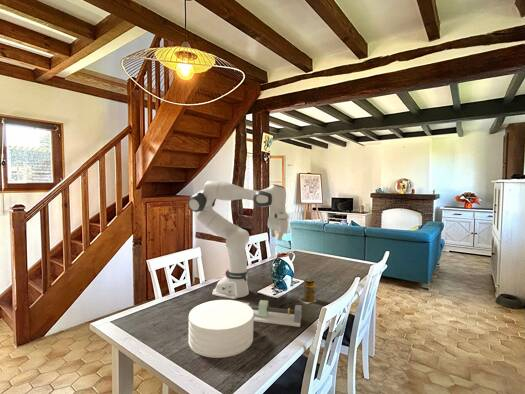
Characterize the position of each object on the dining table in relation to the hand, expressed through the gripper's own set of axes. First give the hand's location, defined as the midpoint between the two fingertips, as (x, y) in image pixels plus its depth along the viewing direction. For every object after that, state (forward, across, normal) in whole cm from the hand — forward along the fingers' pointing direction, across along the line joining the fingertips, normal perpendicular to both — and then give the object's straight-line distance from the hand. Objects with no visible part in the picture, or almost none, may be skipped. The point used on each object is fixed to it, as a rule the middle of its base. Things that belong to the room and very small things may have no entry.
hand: (276, 238), depth 158 cm
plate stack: (+38, +25, -35) cm, 58 cm away
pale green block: (+36, +13, -11) cm, 40 cm away
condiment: (+38, +1, +21) cm, 43 cm away
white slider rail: (+38, +15, -8) cm, 41 cm away
